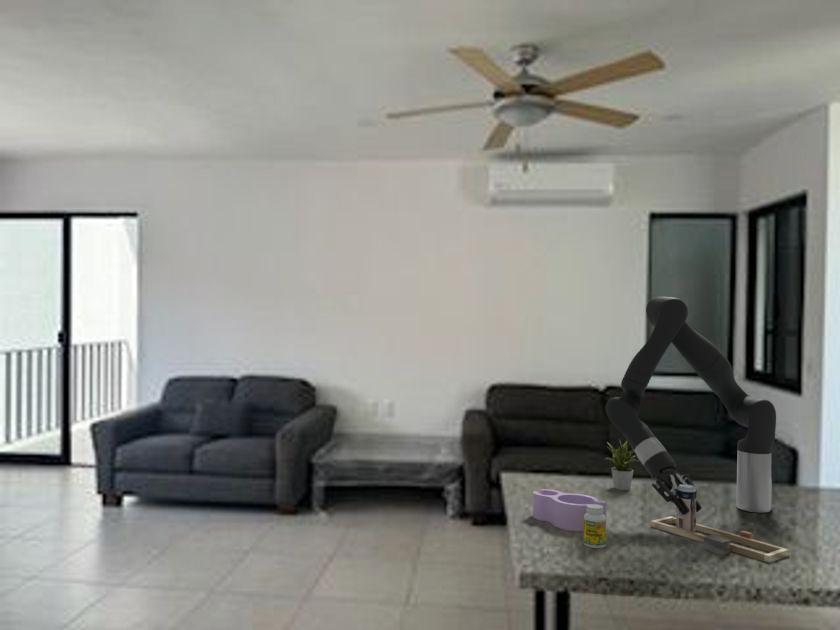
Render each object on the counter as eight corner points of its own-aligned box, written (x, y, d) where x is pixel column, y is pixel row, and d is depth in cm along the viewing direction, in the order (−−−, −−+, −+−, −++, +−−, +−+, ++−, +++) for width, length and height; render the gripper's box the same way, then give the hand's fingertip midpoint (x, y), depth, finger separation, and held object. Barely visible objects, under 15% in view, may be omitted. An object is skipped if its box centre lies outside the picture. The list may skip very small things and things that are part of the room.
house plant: (652, 495, 220) (653, 444, 220) (609, 493, 221) (610, 443, 221) (639, 484, 235) (640, 436, 235) (598, 483, 235) (599, 435, 235)
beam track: (674, 520, 192) (674, 509, 192) (792, 554, 165) (792, 542, 165) (639, 529, 183) (639, 517, 183) (758, 566, 156) (758, 553, 156)
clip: (523, 518, 191) (524, 493, 191) (549, 510, 200) (550, 487, 200) (586, 536, 177) (587, 509, 177) (611, 526, 185) (612, 500, 186)
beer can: (697, 534, 179) (698, 488, 179) (678, 533, 180) (678, 487, 180) (693, 529, 184) (694, 484, 184) (674, 527, 185) (675, 483, 185)
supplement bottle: (606, 543, 171) (607, 504, 171) (605, 549, 165) (606, 510, 166) (584, 540, 172) (584, 502, 172) (582, 547, 167) (583, 507, 167)
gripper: (646, 452, 184) (685, 507, 174) (679, 447, 192) (718, 500, 182) (629, 468, 188) (667, 523, 178) (662, 463, 197) (699, 515, 187)
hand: (692, 511), depth 180 cm, fingers closed on beer can, 4 cm apart
